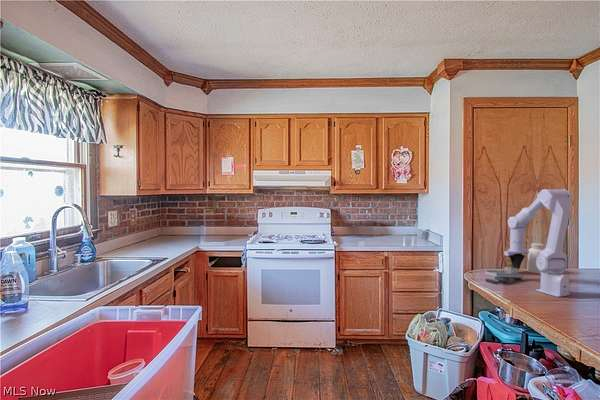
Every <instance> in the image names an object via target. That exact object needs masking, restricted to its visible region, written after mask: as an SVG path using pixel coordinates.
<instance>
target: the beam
mask: <svg viewBox="0 0 600 400" xmlns="http://www.w3.org/2000/svg"><path fill="white" fill-rule="evenodd" d="M484 274H485V275H490V276H492V277H495V276H496V277H520V278H522V279H523V278H524V273H518V274H517V273H504V270H500V269H499V270H494V269H491V270H490V269H485V271H484Z"/></svg>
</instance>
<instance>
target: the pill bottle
mask: <svg viewBox="0 0 600 400" xmlns="http://www.w3.org/2000/svg"><path fill="white" fill-rule="evenodd" d="M530 246H531V248H528V250H529V254H527V263H526V265H527V268H526V269H527V272H529V273H533V274H540V275H541V271H539V269H538V267H537V265H536V260H537V258H538V257H539V253H540V252H541V251H543V250H544V244H543V243H536V242H532V243H531V244H530Z"/></svg>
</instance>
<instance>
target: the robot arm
mask: <svg viewBox="0 0 600 400" xmlns="http://www.w3.org/2000/svg"><path fill="white" fill-rule="evenodd" d="M536 195H537V198H536V199H535V200H534V201H533V202H532V203H531V204H530V205H529V206H528V207H522V209H521V210H520V211H519V212H518V213H516V215H515V216H509V218H508V219H507V226H508V227H509V232H510V234H509V241H510V249H508V251H505V250H504V251H503V252H504V254H503V255H504V256H505V255H506V256H509V258H510V259H511V262H512V265H513V267H514V268H518V271H519V270H520V268H521V265H522V262H523V260H524V259H525V258H526V256H525V255H528V254H529V249H525V233H526V231H527V230H526V229H527V227H528V224H529V222H530V221H531V220H533V219H535V217H536V213H537V212H539V211H540V210H541V209H542V208H544V207H545V208H546V209H547V210H548V211H551V213H552V215H551V221H550V226H549V231H548V236H547V240H546V246H545V248H543V251H541V252H540V253H539V257H538V258H537V260H536V265H537V267H538V269H539V271H541V274H540V284H539V285H540V286H539V288H537V289H535V292H538V293H542V294H546V295H549V296H553V297H557V298H560V297H565V296H570V295H571V293H570V278H569V275H567V274H564V271H565V270H567V268H568V262H567V261H568V260H567V258H568V256H567V254H565V252H563V248H564V247H563V246H564V242H565V238H566V233H567V232H566V231H567V229H568V223H569V218H570V214H571V204H572V203H571V202H572V199H573V198H572V197H573V196H572V194H571V192H569V191H568V190H567V189H564V188H561V189H546V188H544V189H541V190H540V192H538V193H537V194H536Z"/></svg>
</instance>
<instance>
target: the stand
mask: <svg viewBox="0 0 600 400" xmlns="http://www.w3.org/2000/svg"><path fill="white" fill-rule="evenodd" d="M498 281H499V282H503V283H507V284H512V283H514V281H523V278H520V277H496V276H494V279H490V278H485V282H486V283H490V284H493V285H498Z"/></svg>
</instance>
